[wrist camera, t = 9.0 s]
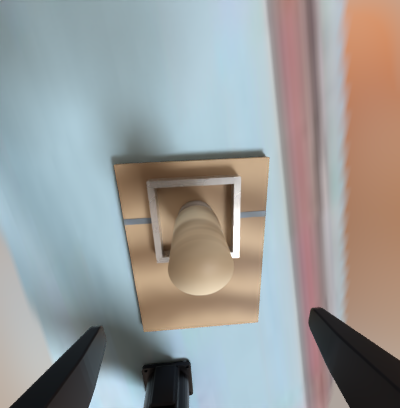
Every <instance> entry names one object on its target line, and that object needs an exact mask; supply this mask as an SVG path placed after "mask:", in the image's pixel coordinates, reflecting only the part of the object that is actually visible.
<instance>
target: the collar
mask: <svg viewBox="0 0 400 408" xmlns="http://www.w3.org/2000/svg"><path fill="white" fill-rule="evenodd" d="M146 184H147V191H148V199H149V206H150V214H151V221H152V229H153V237H154V244H155V252H156V259H157V263H168V262H169V257H170V251H164V248H163V239H162V230H161V222H160V213H159V205H158V196H157V188H167V187H186V186H204V185H222V184H231V246H229V250H230V253H231V256H232V258H238V257H239V239H240V200H241V176H239V175H238V174H234V175H215V176H196V177H177V178H158V179H148V180H147V182H146Z"/></svg>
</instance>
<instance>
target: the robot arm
mask: <svg viewBox="0 0 400 408" xmlns="http://www.w3.org/2000/svg"><path fill="white" fill-rule="evenodd" d="M308 323H309V327H310V330H311V332H312V334H313V336H314V339H315V341H316V343H317V345H318V347H319V350H320V352H321V354H322V356H323V359H324V361H325V363H326V365H327V367H328V369H329V371H330V373H331V375H332V376H333V378H334V380H335V382H336V384H337V385H338V387H339V389H340V391H341V393H342V394H343V396H344V398H345V399H346V402H347V403H348V405H349V407H350V408H400V360H398V359H397V358H395V357H394V356H392V355H391V354H389V353H388V352H386V351H385V350H383V349H382V348H380V347H379V346H378V345H376V344H375V343H373V342H371V341H370V340H369V339H367V338H366V337H364V336H363V335H361V334H360V333H358V332H357V331H355V330H354V329H352V328H351V327H350V326H348V325H347V324H345V323H344V322H342V321H341V320H339V319H338V318H336V317H335V316H333V315H332V314H330V313H329V312H327V311H326V310H324V309H323V308H320V307H317V308H312V309H311V310H310V316H309V322H308ZM105 347H106V337H105V333H104V329H103V327H102V326H92V327H91V328H89V329H88V330H87V331H86V332H85V333H84V334H83V335H82V336H81V337H80V338H79V339H78V340H77V341H76V342H75V343H74V344H73V345H72V346H71V347H70V348H69V349H68V350H67V351H66V352H65V353H64V354H63V355H62V356H61V357H60V358H59V359H58V360H57V361H56V362H55V363H54V364H53V365H52V366H51V367H50V368H49V369H48V370H47V371H46V372H45V373H44V374H43V375H42V376H41V377H40V378H39V379H38V380H37V381H36V382H35V383H34V384H33V385H32V386H31V387H30V388H29V389H28V390H27V391H26V392H25V393H24V394H23V395H22V396H21V397H20V398H19V399H18V400H17V401H16V402H14V403H13V405H11V406H10V407H9V408H88V407H89V405H90V402H91V399H92V396H93V393H94V389H95V386H96V382H97V378H98V374H99V370H100V366H101V363H102V359H103V355H104V351H105ZM142 374H143V379H144V384H145V389H146V395H145V401H144V407H143V408H189V395H192V394H193V386H192V374H191V363H190V362H188V361H186V362H176V363H165V364H154V365H145V366H143V369H142Z"/></svg>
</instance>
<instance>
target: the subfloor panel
mask: <svg viewBox="0 0 400 408" xmlns="http://www.w3.org/2000/svg"><path fill="white" fill-rule="evenodd" d="M114 169H115V175H116V180H117V186H118V191H119V197H120V202H121V208H122V213H123V220H124V225H125V230H126V235H127V241H128V247H129V252H130V258H131V263H132V269H133V274H134V280H135V285H136V291H137V296H138V302H139V307H140V313H141V319H142V324H143V330H144V332H150V331H161V330H173V329H185V328H196V327H208V326H220V325H231V324H243V323H255V322H258V314H259V300H260V285H261V271H262V257H263V243H264V228H265V216H266V200H267V186H268V171H269V157H248V158H228V159H208V160H187V161H167V162H146V163H126V164H115V165H114ZM234 174H238V175H239V176H241V200H240V239H239V257H238V258H233V262H234V271H233V275H232V277H231V279H230V281H229V282H228V283H227V284H226V285H225V286H224V287H223V288H222V289H220V290H219V291H217V292H214V293H212V294H208V295H191V294H187V293H185V292H183V291H181V290H179V289H178V288H177V287H176V286H175V285H174V284H173V283H172V281H171V280H170V277H169V274H168V263H169V262H168V263H157V259H156V252H155V244H154V237H153V229H152V221H151V214H150V206H149V199H148V191H147V184H146V182H147V180H148V179H158V178H177V177H196V176H215V175H234ZM157 196H158V205H159V213H160V222H161V230H162V239H163V248H164V251H170V250H171V244H172V237H173V231H174V224H175V220H176V218H177V216H178V213H179V211H180V209H181V207H182V206H183V205H185V204H186V203H188V202H190V201H203V202H205V203H207V204H208V205H209V206H210V207H211V208H212V210H213V212H214V213H215V214H216V216H217V217H218V220H219V223H220V226H221V228H222V231H223V234H224V236H225V239H226V242H227V245H228V247H229V246H231V184H222V185H204V186H186V187H167V188H157Z"/></svg>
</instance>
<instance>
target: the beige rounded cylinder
mask: <svg viewBox="0 0 400 408" xmlns="http://www.w3.org/2000/svg"><path fill="white" fill-rule="evenodd" d="M233 271H234V262H233V258H232V256H231V253H230V250H229V247H228V245H227V242H226V239H225V236H224V234H223V231H222V228H221V226H220V223H219V220H218V217H217V216H216V214H215V213H214V212H213V210H212V208H211V207H210V206H209V205H208V204H207V203H205V202H203V201H190V202H188V203H186V204H185V205H183V206H182V207H181V209H180V211H179V213H178V216H177V218H176V220H175V224H174V231H173V237H172V244H171V250H170V257H169V263H168V274H169V277H170V280H171V281H172V283H173V284H174V285H175V286H176V287H177V288H178V289H179V290H181V291H183V292H185V293H187V294H191V295H208V294H212V293H214V292H217V291H219V290H220V289H222V288H223V287H224V286H225V285H226V284H227V283H228V282H229V281H230V279H231V277H232V275H233Z"/></svg>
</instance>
